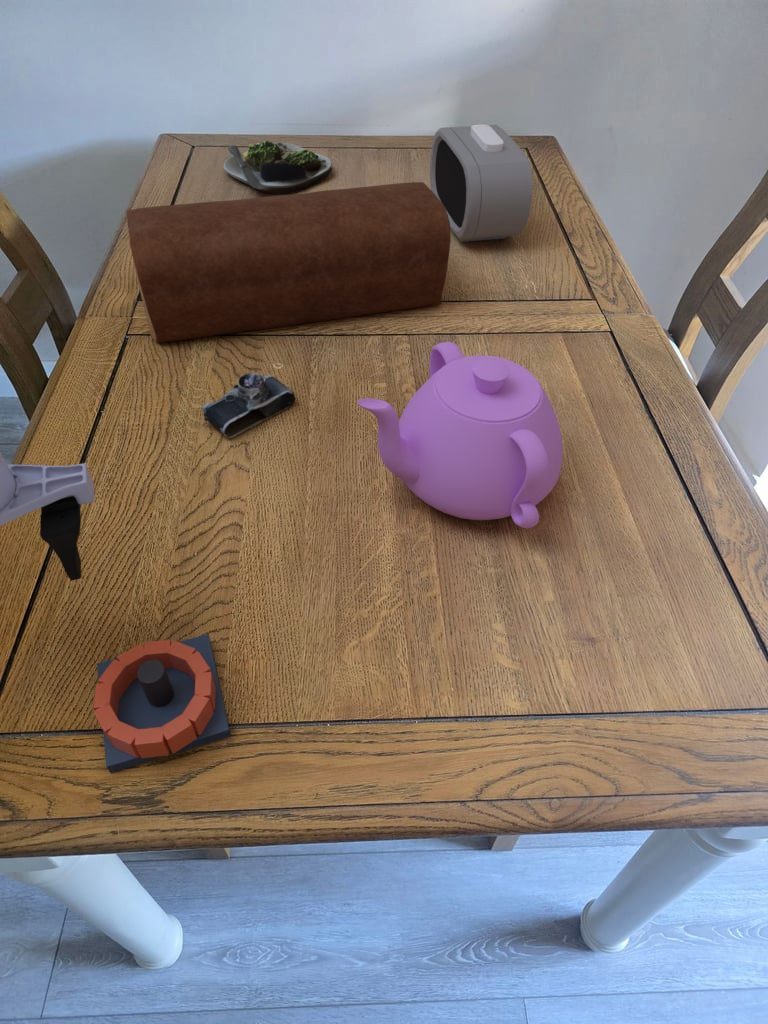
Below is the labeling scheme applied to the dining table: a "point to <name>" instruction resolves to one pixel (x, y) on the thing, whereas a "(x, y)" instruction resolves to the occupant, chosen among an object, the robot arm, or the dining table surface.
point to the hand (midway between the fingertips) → (21, 581)
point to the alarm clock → (481, 181)
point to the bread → (288, 259)
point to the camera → (248, 404)
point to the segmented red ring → (173, 732)
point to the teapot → (474, 438)
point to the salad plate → (277, 167)
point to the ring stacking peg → (164, 703)
